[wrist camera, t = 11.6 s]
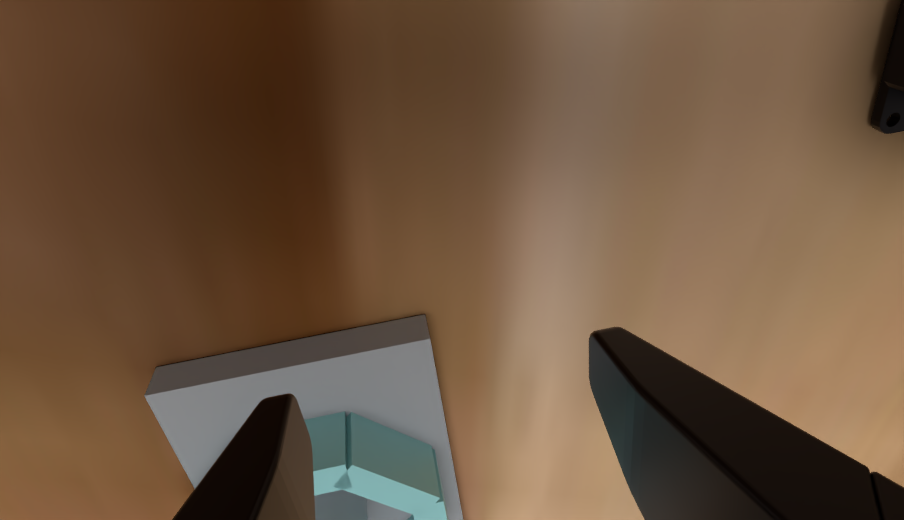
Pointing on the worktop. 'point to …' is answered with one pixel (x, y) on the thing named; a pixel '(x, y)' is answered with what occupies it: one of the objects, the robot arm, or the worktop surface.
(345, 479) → the teal ring
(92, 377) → the worktop surface
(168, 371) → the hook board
